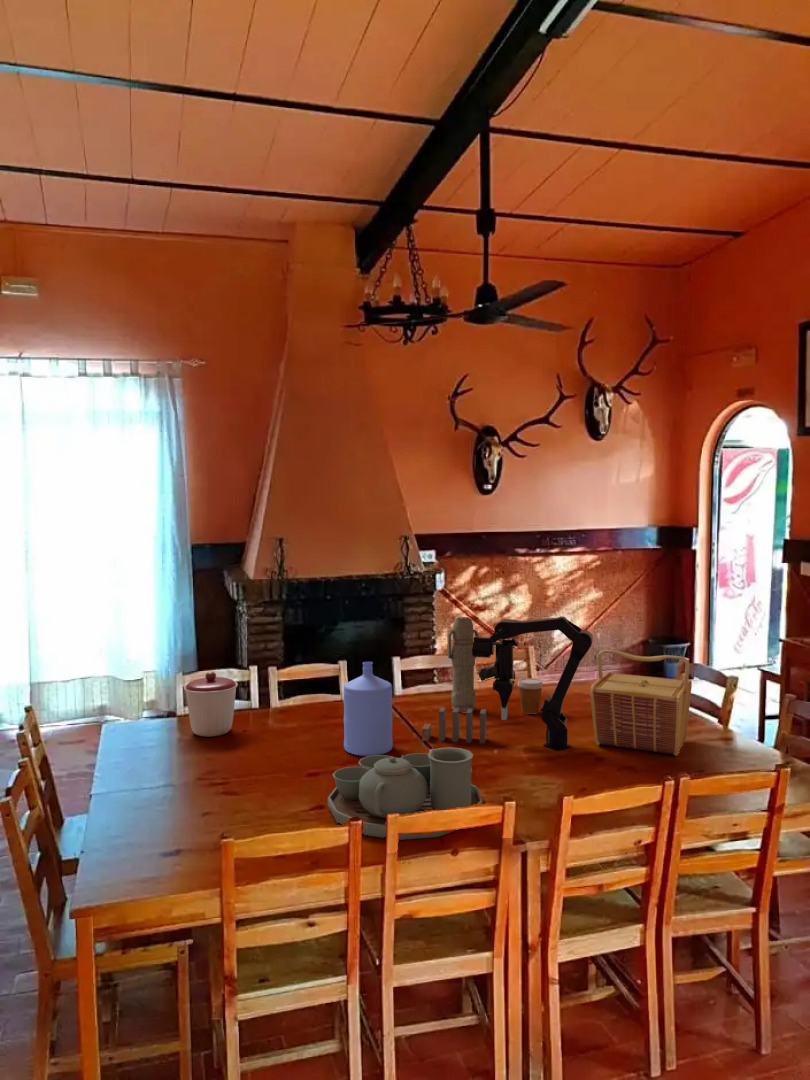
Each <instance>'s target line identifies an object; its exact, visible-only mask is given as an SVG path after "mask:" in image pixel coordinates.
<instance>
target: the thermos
mask: <svg viewBox="0 0 810 1080" xmlns="http://www.w3.org/2000/svg"><path fill="white" fill-rule="evenodd" d="M452 634H453V635H452ZM475 636H479V637H480V634H479V632H478V631H477V630H476V629H474V623H473V620H472V619H471V618H470V617H469V616H468V617H466V616H458V617H457V618H456V617H455V619H454V622H453V625H452V629H451V630H449V631H448V633H447V658H448V659H451V665H452V690H451V706H452V707H451V710H452V709H453V710H454V708H459V711H460V712H467V709H473V710H474V709H475V710H476V708H475V707H476V706H475V705H476V692H475V671H474V670H475V665H476V658H478V657H473V655H472V647H473V642H474V637H475ZM452 638H453V642H452ZM452 643H453V644H452Z"/></svg>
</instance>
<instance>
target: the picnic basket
mask: <svg viewBox="0 0 810 1080" xmlns="http://www.w3.org/2000/svg"><path fill="white" fill-rule="evenodd" d="M604 654H614V655H619V656H621V657H623V658H625V659H629V660H633V661H636V662H637V661H639V662H660V661H662V660H666V659H672V660H681V661H682V662H683V663H684V665H685V667H684V674H683V675H684V678H683V679H676V678H667V677H659V676H658V677H657V676H645V675H635V674H625V673H619V672H617V673H615V672H611V671H607V672H606V673H604V674H603V667H602V656H603V655H604ZM596 659H597V660H596V661H597V673H598V674H597V675H598V676H597V677H598V679H597V680H596V681H595V682H593V683H592V685H591V686H590V692H589V693H590V694H589V696H590V703H591V714H592V722H593V723H592V726H593V732H594V741H595V743H596V745H598V746H599V745H600V744H601V745H605V746H612V747H617V748H618V747H619V748H625V749H633V750H640V751H646V752H654V753H661V754H668V755H674V757H678V756H679V754H680V752H681V751H680V748H681V745H682V743H683V742H685V743H686V739H687V735H688V723H689V716H690V705H691V696H692V687H693V685H692V684H693V683H692V680H691V679H690V678H689V677H690V668H691V667H690V666H691V665H690V662H689V660H688V659H686V657H684V656H678V655H669V654H667V655H666V654H665V655H664V654H663V655H654V656H642V655H636V654H635V655H634V654H631V653H628V652H624V651H620V650H612V649H603V650H600V651H599V652H598V653H597V655H596ZM679 751H680V752H679ZM678 753H679V754H678ZM677 755H678V756H677Z"/></svg>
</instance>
